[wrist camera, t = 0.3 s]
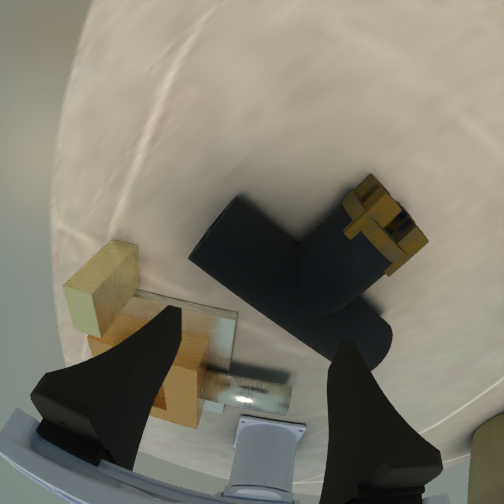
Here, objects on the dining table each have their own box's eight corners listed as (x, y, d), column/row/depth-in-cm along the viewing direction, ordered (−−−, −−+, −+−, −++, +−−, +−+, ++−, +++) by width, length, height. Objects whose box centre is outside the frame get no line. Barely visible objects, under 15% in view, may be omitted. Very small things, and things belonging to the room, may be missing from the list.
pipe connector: (308, 119, 13) (472, 299, 16) (306, 113, 18) (445, 258, 21) (177, 273, 18) (345, 387, 21) (203, 235, 23) (342, 340, 26)
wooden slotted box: (275, 417, 32) (270, 453, 28) (115, 376, 34) (98, 406, 29) (308, 326, 25) (308, 371, 21) (92, 277, 26) (63, 308, 22)
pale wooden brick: (140, 285, 26) (101, 338, 20) (116, 279, 26) (74, 328, 20) (137, 245, 24) (91, 294, 18) (111, 239, 24) (62, 285, 18)
